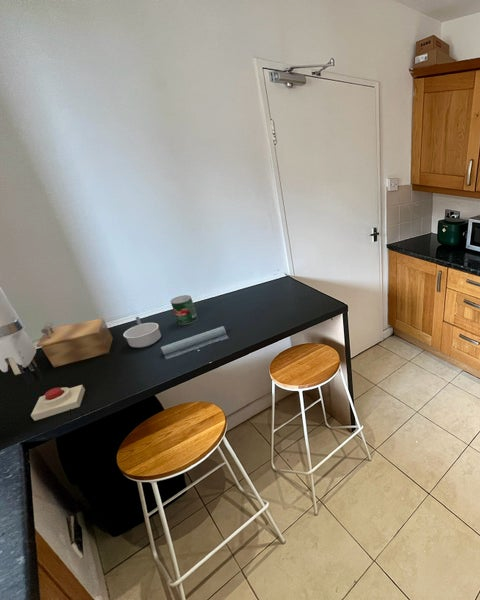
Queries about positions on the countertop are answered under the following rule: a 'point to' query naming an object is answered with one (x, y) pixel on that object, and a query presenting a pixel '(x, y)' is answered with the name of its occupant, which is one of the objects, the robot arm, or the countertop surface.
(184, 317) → the canned tomato
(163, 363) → the countertop surface
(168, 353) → the aluminum foil
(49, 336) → the lid
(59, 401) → the switch block
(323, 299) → the countertop surface
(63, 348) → the box
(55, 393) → the button
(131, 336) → the saucepan
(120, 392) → the countertop surface
